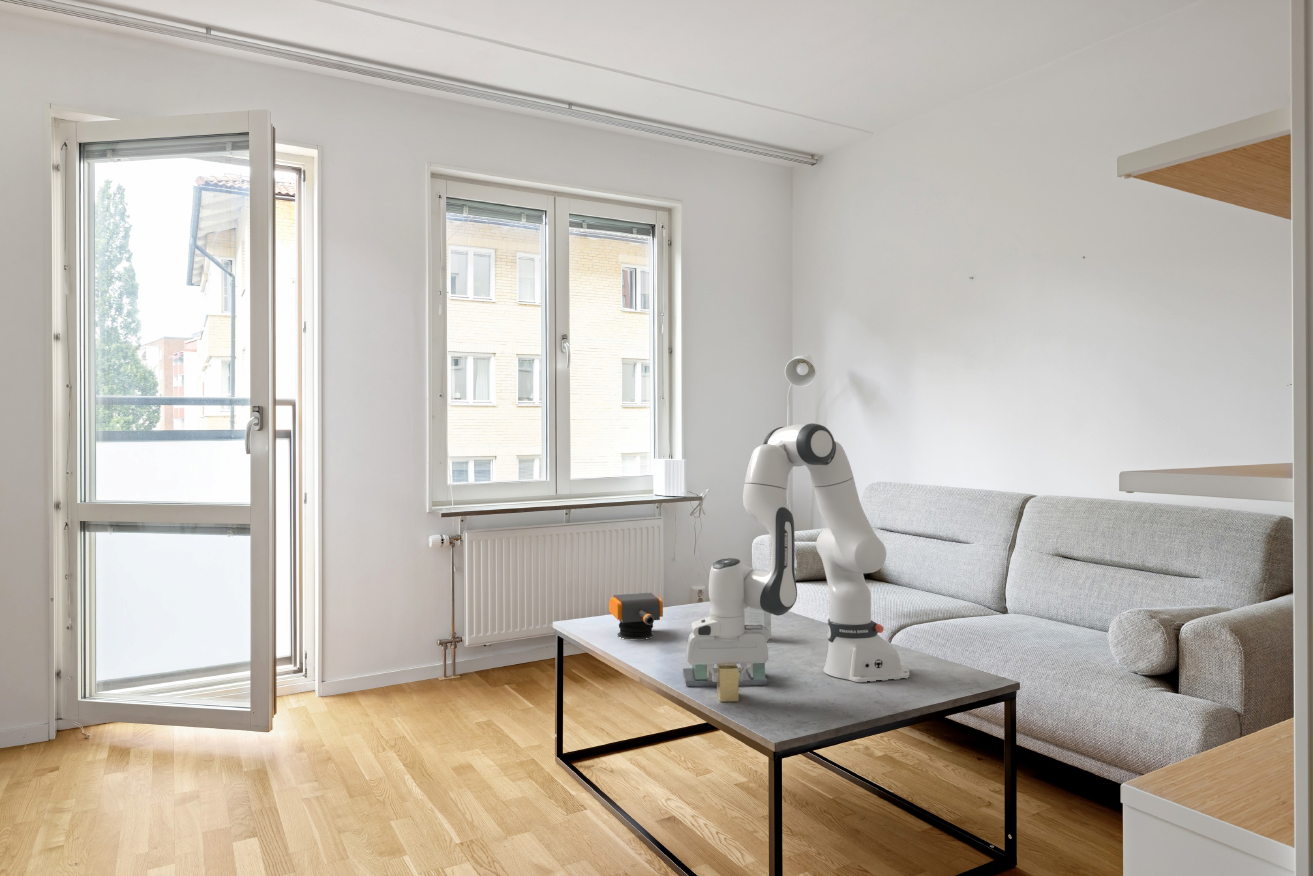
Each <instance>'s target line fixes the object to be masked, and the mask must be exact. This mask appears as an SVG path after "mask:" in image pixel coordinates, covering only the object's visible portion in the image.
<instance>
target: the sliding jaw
mask: <svg viewBox="0 0 1313 876" xmlns="http://www.w3.org/2000/svg"><path fill="white" fill-rule="evenodd" d="M691 668H693V672H694V676H695V680H699V679H707V678H709V668H708V664H698V665H691Z"/></svg>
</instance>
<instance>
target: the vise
mask: <svg viewBox="0 0 1313 876" xmlns="http://www.w3.org/2000/svg"><path fill="white" fill-rule="evenodd" d="M741 668H742V667H738V672H740V670H741ZM712 669H713V671H714V672H715V673H717V667H714V668H712ZM682 674H683V675H684V676H683V675H682V676H683V679H685V681H684V685H685V684H686V685H685V687H686V686H696V687H717V682H713V681H712V674H711V672H710V670H709V678H707V679H699V680H695V676H694V672H693V668H692V667H691V668H689V667H687V668H682ZM750 685H754V686H767V685H768V678H767V677H766V663H747V669H746V671H745V672H744V674H743V681H738V687H740V686H741V687H743V686H745V687H746V686H748V687H749V686H750Z"/></svg>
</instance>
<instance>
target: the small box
mask: <svg viewBox="0 0 1313 876" xmlns="http://www.w3.org/2000/svg"><path fill="white" fill-rule="evenodd" d="M744 612H745V625H763V626H764V627H766V628H767V629H768V631H769V639H768V640H770V639H772V614H771V613H768V612H765V611H763V610H759V609H754V608H751V607H747V606H746V607H744ZM763 629H765V628H763Z"/></svg>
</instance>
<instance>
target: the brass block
mask: <svg viewBox="0 0 1313 876" xmlns="http://www.w3.org/2000/svg"><path fill="white" fill-rule="evenodd" d="M716 668H717V673H718V674H719V678H718V679H719V682H717V686H716V694H717V697H718V699H719V701H720V703H721V702H739V697H740V696H739V686H738V668H739V667H738V664H716Z"/></svg>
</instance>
